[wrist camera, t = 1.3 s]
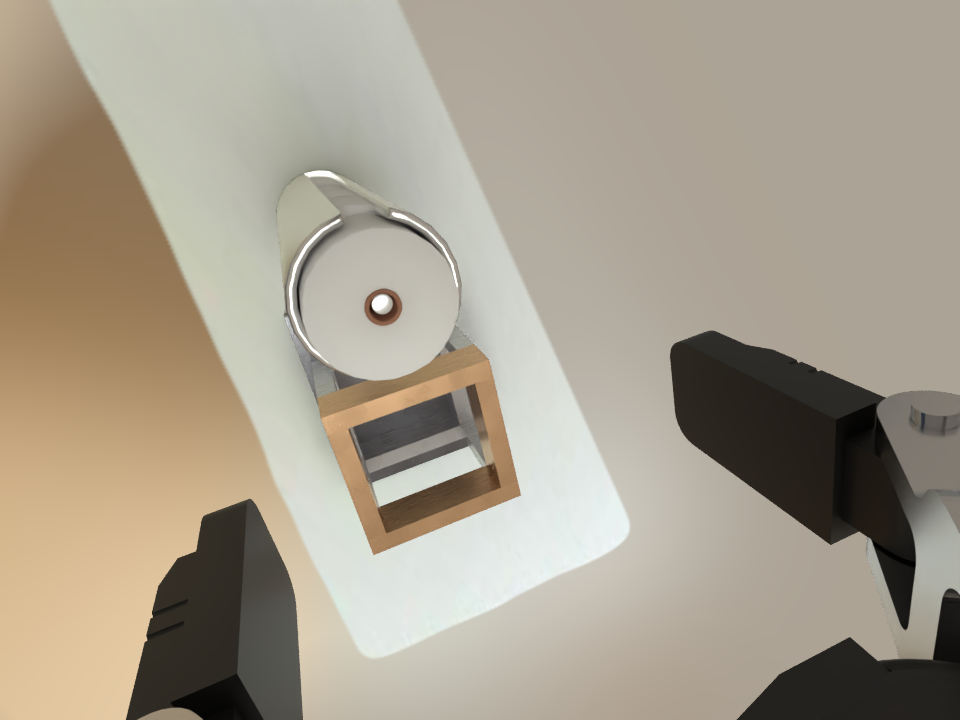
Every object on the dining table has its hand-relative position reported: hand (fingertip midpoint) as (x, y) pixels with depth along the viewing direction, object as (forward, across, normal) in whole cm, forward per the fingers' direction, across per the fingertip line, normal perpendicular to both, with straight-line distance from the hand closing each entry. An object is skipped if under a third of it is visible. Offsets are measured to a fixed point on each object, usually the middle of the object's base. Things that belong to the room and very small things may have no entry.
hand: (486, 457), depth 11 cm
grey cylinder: (+36, 0, 0) cm, 36 cm away
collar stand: (+36, -1, +14) cm, 39 cm away
